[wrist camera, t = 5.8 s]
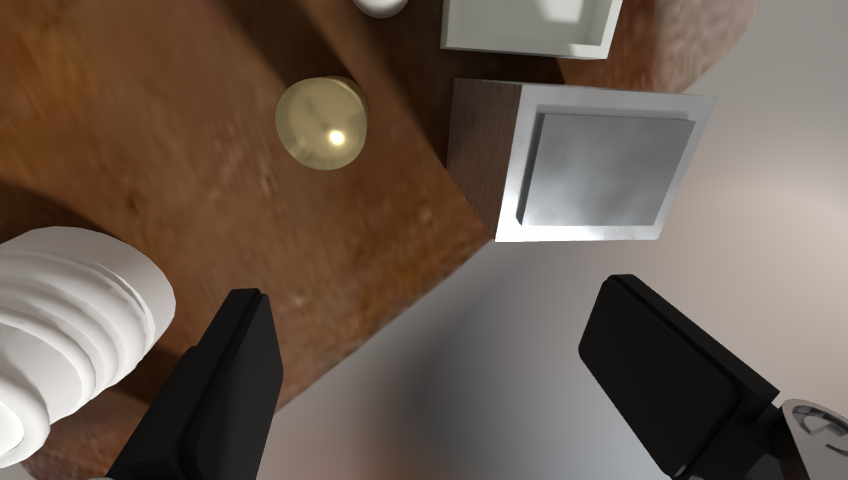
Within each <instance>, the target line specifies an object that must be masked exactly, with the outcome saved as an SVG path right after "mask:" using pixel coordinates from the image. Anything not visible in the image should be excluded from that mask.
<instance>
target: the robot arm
mask: <svg viewBox="0 0 848 480" xmlns="http://www.w3.org/2000/svg"><path fill="white" fill-rule="evenodd" d="M578 351H579V355H580V358H581V359H582V361H583V362H584V363H585V365H586V366H587V368H588V369H589V370H590V372H591V373H592V375H593V376H594V377H595V379H596V380H597V382H598V383H599V384H600V386H601V387H602V389H603V390H604V391H605V393H606V394H607V395H608V397H609V398H610V400H611V401H612V402H613V404H614V405H615V407H616V408H617V409H618V411H619V412H620V414H621V415H622V416H623V418H624V419H625V421H626V422H627V423H628V425H629V426H630V428H631V429H632V430H633V432H634V433H635V434H636V436H637V437H638V439H639V440H640V442H641V443H642V444H643V446H644V447H645V448H646V450H647V451H648V453H649V454H650V456H651V457H652V458H653V460H654V461H655V462H656V464H657V465H658V467H659V468H660V469H661V470H662V472H664V473H665V474H666V475H668V476H670V478H671V479H672V480H848V419H846V418H845V417H843V416H841V415H839V414H837V413H836V412H834V411H832V410H830V409H827V408H825V407H823V406H820V405H818V404H816V403H812V402H809V401H805V400H800V399H790V400H786V401H785V402H784V403H783V404H782V405H781V406H780V407H779V408H777V407H775V406H774V405H773V404H772V403H771V402H772V401H773V400H774V399H775V397H776V396H777V395H778V394H779V393H780V391H779V390H778V389H777V388H775V387H774V386H773V385H771V384H770V383H769V382H768V381H766V380H765V379H764V378H763V377H761V376H760V375H759V374H758V373H756V372H755V371H754V370H753V369H751V368H750V367H749V366H748V365H746V364H745V363H744V362H743V361H741V360H740V359H739V358H738V357H736V356H735V355H734V354H733V353H731V352H730V351H729V350H728V349H726V348H725V347H724V346H723V345H721V344H720V343H719V342H718V341H716V340H715V339H714V338H712V337H711V336H710V335H709V334H707V333H706V332H705V331H704V330H703V329H701V328H700V327H699V326H697V325H696V324H695V323H694V322H692V321H691V320H690V319H689V318H687V317H686V316H685V315H684V314H682V313H681V312H680V311H678V310H677V309H676V308H675V307H674V306H672V305H671V304H670V303H669V302H667V301H666V300H665V299H664V298H662V297H661V296H660V295H659V294H657V293H656V292H655V291H654V290H652V289H651V288H650V287H649V286H647V285H646V284H645V283H644V282H642V281H641V280H640V279H639V278H637V277H636V276H634V275H632V274H622V275H611V276H609V277H608V278H607V280H605V281H604V282H603V284H602V286H601V288H600V291H599V294H598V296H597V299H596V302H595V305H594V307H593V310H592V312H591V315H590V318H589V320H588V323H587V325H586V328H585V331H584V333H583V336H582V339H581V341H580V344H579V348H578ZM282 381H283V365H282V360H281V355H280V350H279V346H278V341H277V336H276V331H275V326H274V321H273V316H272V311H271V307H270V302H269V297H268V295H267V294H261V292H260V290H259V289H258V288H249V289H233V290H231V291H230V293H229V294H228V296H227V297H226V299H225V301H224V302H223V304H222V305H221V307H220V309H219V310H218V312H217V314H216V315H215V317H214V318H213V320H212V322H211V323H210V325H209V327H208V328H207V330H206V331H205V333H204V335H203V336H202V338H201V340H200V341H199V343H198V345H197V346H192V347H191V348H189V349H188V350H187V351H186V352H185V353H184V355H183V356H182V357H181V359H180V361H179V362H178V364H177V365H176V367H175V368H174V370H173V372H172V373H171V375H170V376H169V378H168V379H167V381H166V382H165V384H164V386H163V387H162V389H161V390H160V392H159V393H158V395H157V396H156V398H155V400H154V401H153V403H152V404H151V406H150V407H149V409H148V410H147V412H146V414H145V415H144V417H143V418H142V420H141V421H140V423H139V424H138V426H137V428H136V429H135V431H134V432H133V434H132V435H131V437H130V438H129V440H128V442H127V443H126V445H125V446H124V448H123V449H122V451H121V452H120V454H119V456H118V457H117V459H116V460H115V462H114V463H113V465H112V466H111V468H110V470H109V471H108V473H107V474H106V476H105V477H104V478H92V479H89V480H256V476H257V472H258V469H259V465H260V462H261V458H262V454H263V451H264V447H265V443H266V440H267V436H268V433H269V429H270V425H271V422H272V418H273V414H274V411H275V407H276V404H277V400H278V396H279V393H280V389H281V385H282Z"/></svg>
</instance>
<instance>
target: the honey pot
mask: <svg viewBox="0 0 848 480" xmlns="http://www.w3.org/2000/svg"><path fill="white" fill-rule="evenodd" d="M175 305H176V302H175V298H174V294H173V289H172V287H171V285H170V283H169V282H168V280H167V278H166V277H165V275H164V274H163V272H162V271H161V270H160V269H159V268H158V267H157V266H156V265H155V264H154V263H153V262H152V261H151V260H150V259H149V258H148V257H147V256H145V255H144V254H142V253H141V252H139V251H138V250H136V249H135V248H133V247H132V246H130V245H129V244H127V243H124V242H122V241H120V240H118V239H115V238H113V237H111V236H109V235H106V234H103V233H99V232H95V231H91V230H87V229H83V228H76V227H60V226H53V227H46V228H40V229H34V230H31V231H28V232H26V233H24V234H22V235H20V236H18V237H15V238H13V239H11V240H9V241H7V242H5V243H3V244H0V468H4V467H7V466H10V465H12V464H15V463H17V462H20V461H22V460H24V459H27V458H28V457H29V456H30V455H32V454H33V453H34V452H35V451H37V450H38V449H39V448H40V447H42V446H43V444H44V442H45V440H46V438H47V436H48V434H49V432H50V425H51V424H53V423H54V422H56V421H57V420H59V419H61V418H63V417H65V416H68V415H70V414H73V413H74V412H76V411H77V410H78V409H79V408H80V407H82V406H83V405H84V404H85V403H87V402H88V401H89V400H91V399H93V398H94V397H96V396H97V395H98V394H99V393H100V392H102V391H103V390H104V389H105V388H107V387H110V386H112V385H115V384H116V383H118V382H119V381H120V380H121V379H123V378H124V377H125V376H126V375H127V374H129V373H130V372H131V371H132V370H133V369H135V367H136V365H137V363H138V362H139V361H141V360H142V358H143V357H144V355H146V354H147V353H148V351H149V350H150V349H151V348H152V346H153V345H154V344H155V343H156V341H157V340H158V339H159V338H160V336H161V335H162V334H163V333H164V331H165V330H166V329H167V328H168V326H169V324H170V322H171V321H172V319H173V317H174V312H175Z"/></svg>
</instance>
